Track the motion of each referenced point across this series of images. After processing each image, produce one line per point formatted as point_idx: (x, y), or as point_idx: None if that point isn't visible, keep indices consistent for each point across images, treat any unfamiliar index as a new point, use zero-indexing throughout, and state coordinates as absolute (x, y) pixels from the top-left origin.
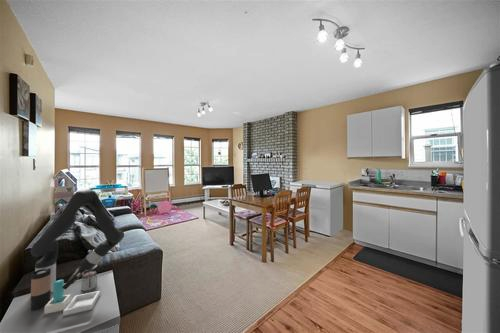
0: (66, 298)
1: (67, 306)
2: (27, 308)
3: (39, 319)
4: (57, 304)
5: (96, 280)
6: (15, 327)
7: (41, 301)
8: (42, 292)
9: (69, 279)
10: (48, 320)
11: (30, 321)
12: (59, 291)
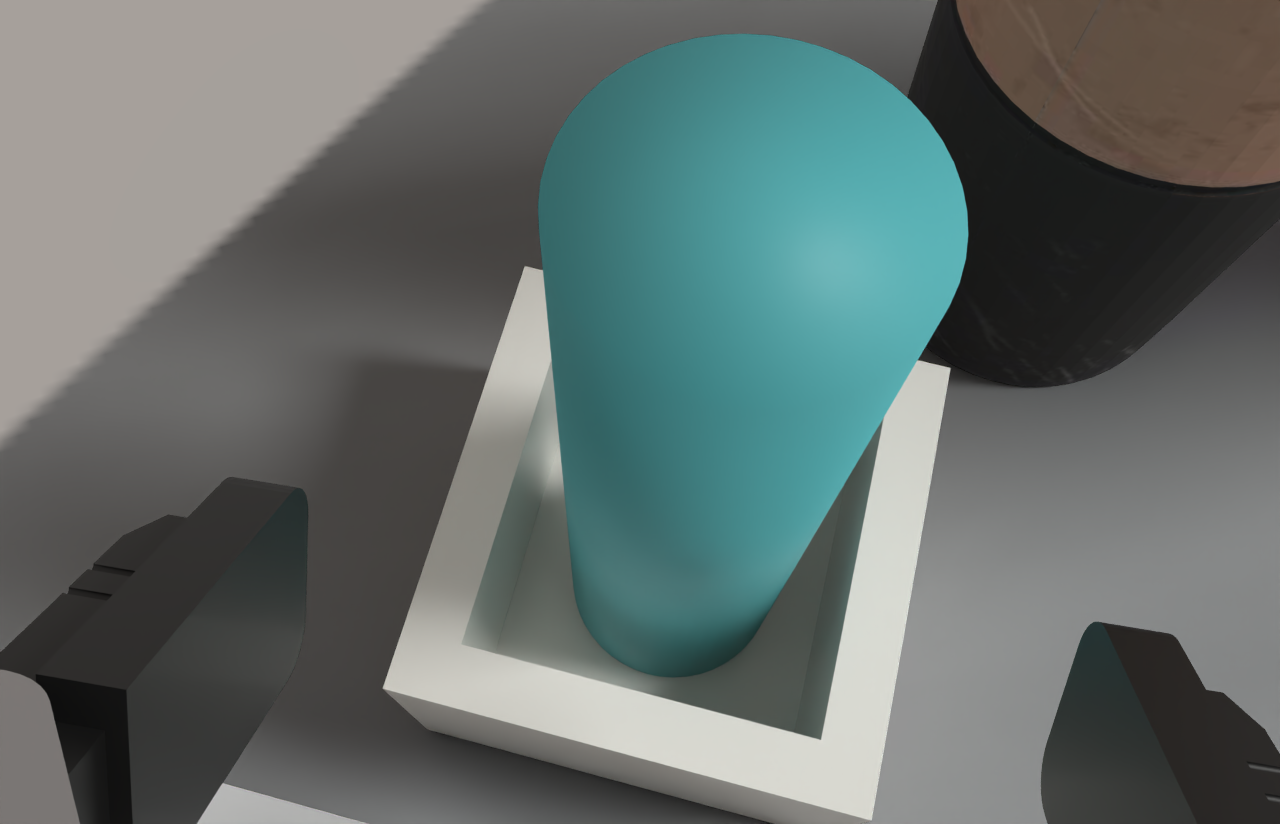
0: (611, 725)
1: (215, 805)
2: None
3: (468, 316)
4: (443, 537)
5: None
6: (480, 32)
7: None
8: (992, 14)
9: (1102, 684)
10: (270, 476)
11: (516, 192)
12: (564, 447)
